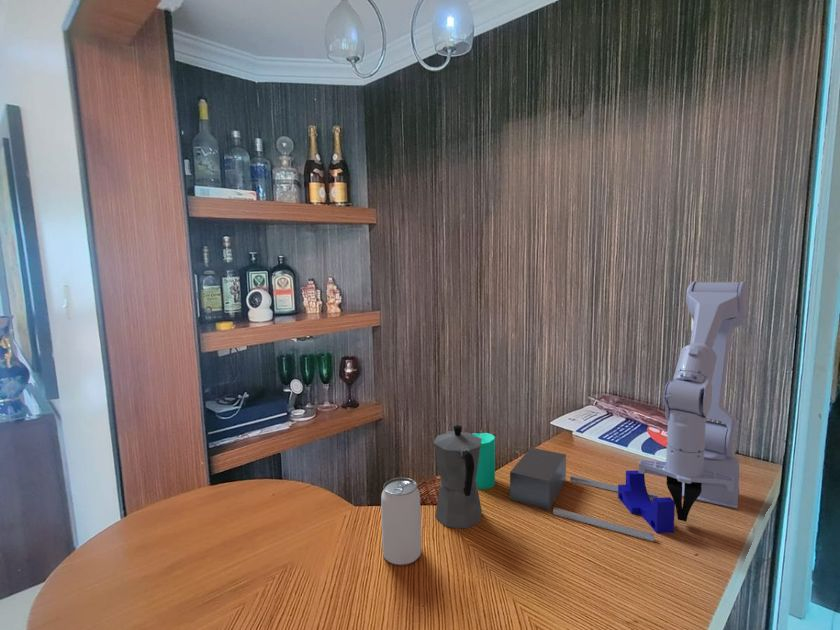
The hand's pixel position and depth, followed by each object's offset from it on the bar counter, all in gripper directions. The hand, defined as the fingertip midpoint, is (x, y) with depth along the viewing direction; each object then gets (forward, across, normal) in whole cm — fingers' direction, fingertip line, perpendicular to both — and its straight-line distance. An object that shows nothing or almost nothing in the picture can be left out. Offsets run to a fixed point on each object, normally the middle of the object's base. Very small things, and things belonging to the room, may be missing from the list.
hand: (682, 518), depth 78 cm
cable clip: (+2, -6, +1) cm, 7 cm away
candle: (+2, -38, -3) cm, 38 cm away
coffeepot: (+2, -36, -18) cm, 40 cm away
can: (+2, -40, -32) cm, 51 cm away
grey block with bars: (+1, -18, 0) cm, 18 cm away
